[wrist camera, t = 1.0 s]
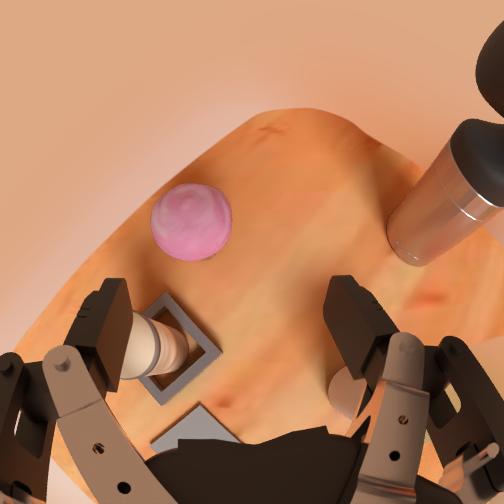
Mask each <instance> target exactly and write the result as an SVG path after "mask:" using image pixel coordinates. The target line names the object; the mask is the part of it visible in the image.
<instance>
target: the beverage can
mask: <svg viewBox="0 0 504 504" xmlns="http://www.w3.org/2000/svg"><path fill="white" fill-rule="evenodd" d="M365 384H366V380H365V378H363V379H359V380H353V378H352V376H351V374H350V372H349V370H348V368H347V366H345V367H344V368H342V369H340V370H339V371H338V372H337V373H336V374H335V375H334V377H333V378H332V380H331V382H330V385H329V389H328V397H329V401H330V404H331V405H332V407H333V408H334V409H335V410H336V411H337V412H339V413H340V414H342V415H344V416H345V417H347V418H349V419H350V420H352V421H353V418H354V415H355V412H356V409H357V407H358V404H359V401H360V398H361V394H362V391H363V388H364V386H365Z"/></svg>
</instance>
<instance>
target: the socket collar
mask: <svg viewBox="0 0 504 504" xmlns="http://www.w3.org/2000/svg"><path fill="white" fill-rule="evenodd" d="M167 309H168V310H169V311H170V312H171V314H172V315H173V316H174V317H175V318H176V319H177V321H178V322H179V323H180V324H181V325H182V326H183V327H184V329H185V330H186V331H187V332H188V333H189V334H190V335H191V336H192V337H193V339H194V340H195V341H196V342H197V343H198V344H199V345H200V346H201V347H202V348H203V349H204V351H205V352H206V353H205V354H204V355H203V356H201V357H200V358H199V359H198V360H197V361H196V362H195V363H194V364H193V365H192V366H190V367H189V368H188V369H187V370H186V371H185V372H184V373H183V374H181V375H180V376H179V377H178V378H177V379H176V380H175V381H174V382H172V383H171V384H170V385H169V386H168V387H167V388H166V389H164V388H163V387H162V386H161V385H160V384H159V383H158V381H157V380H156V379H155V378H154V377H153V376H152V375H151V376H144V377H141V378H138V379H139V381H140V382H141V383H142V384H143V385H144V387H145V388H146V389H147V390H148V391H149V393H150V394H151V395H152V396H153V397H154V398H155V399H156V401H157V402H158V403H159V404H160V405H161V406H163V405H165V404H166V403H167V402H169V401H170V400H171V399H172V398H173V397H174V396H176V395H177V394H178V393H179V392H180V391H181V390H183V389H184V388H185V387H186V386H187V385H188V384H189V383H190V382H192V381H193V380H194V379H195V378H196V377H197V376H198V375H199V374H201V373H202V372H203V371H204V370H205V369H206V368H207V367H208V366H209V365H211V364H212V363H213V362H214V361H215V360H216V359H217V358H218V357H219V356H220V355H221V354H223V352H222V351H221V350H220V349H219V348H218V347H217V346H216V345H215V344H214V343H213V342H212V341H211V340H210V339H209V338H208V337H207V336H206V335H205V333H204V332H203V331H202V330H201V329H200V328H199V327H198V326H197V325H196V324H195V323H194V321H193V320H192V319H191V318H190V317H189V316H188V315H187V314H186V313H185V311H184V310H183V309H182V308H181V307H180V306H179V305H178V303H177V302H176V301H175V300H174V299H173V298H172V296H171V295H170V294H169V293H167V292H165V293H163V294H162V295H161V296H160V297H159V298H158V299H157V300H156V301H155V302H154V303H153V304H152V305H151V306H149V307H148V308H147V309H146V310H145V311H144V312H143V313H142V315H144V316H146V317H147V318H149V319H152V320H154V321H155V320H156V319H157V318H158V317H159V316H160V315H162V314H163V313H164V312H165V311H166V310H167Z"/></svg>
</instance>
